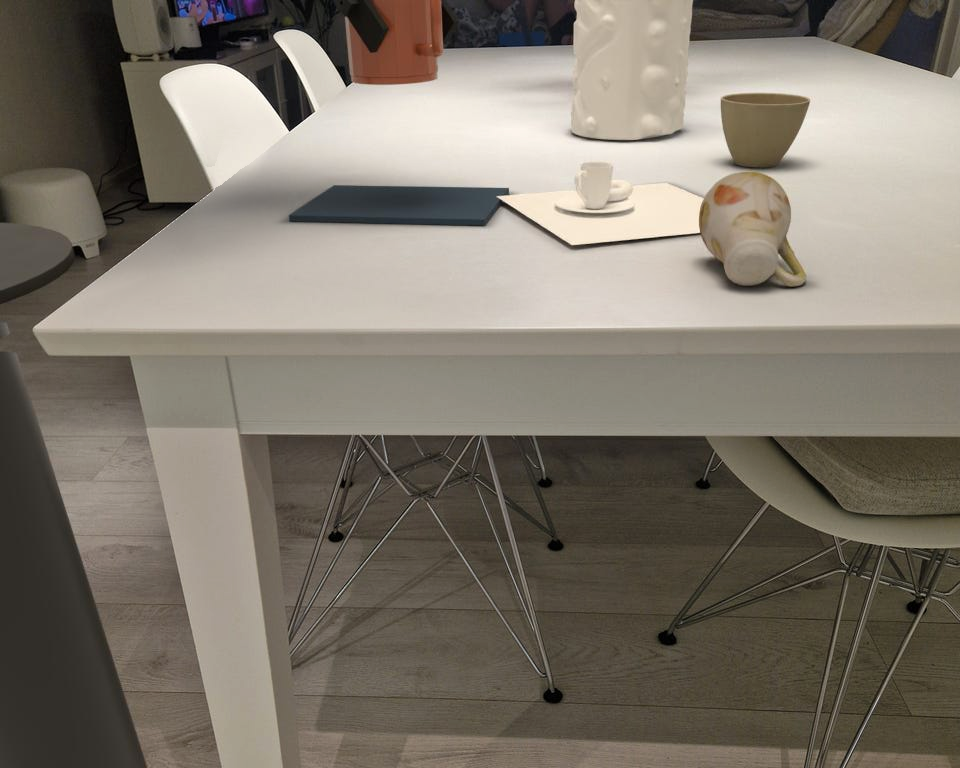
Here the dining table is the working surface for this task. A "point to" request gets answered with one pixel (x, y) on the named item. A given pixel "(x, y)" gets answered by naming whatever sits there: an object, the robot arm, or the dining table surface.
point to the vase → (630, 68)
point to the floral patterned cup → (749, 229)
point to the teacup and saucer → (610, 208)
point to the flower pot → (761, 126)
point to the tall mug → (399, 44)
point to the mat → (402, 205)
